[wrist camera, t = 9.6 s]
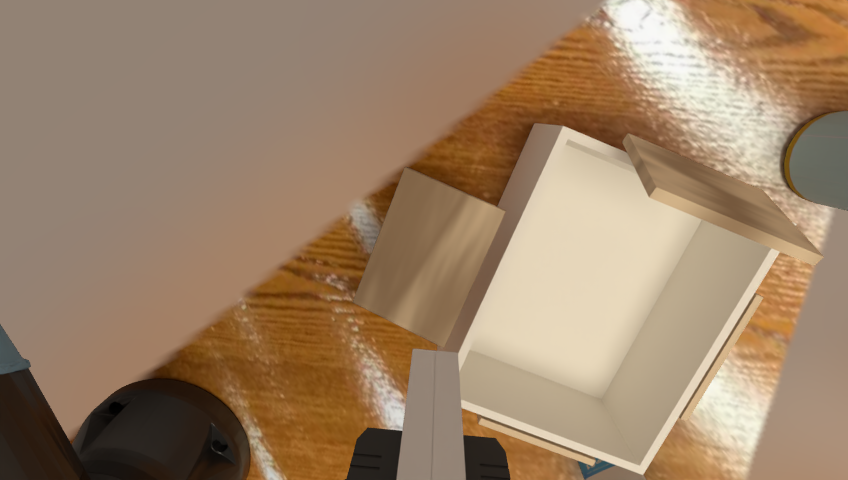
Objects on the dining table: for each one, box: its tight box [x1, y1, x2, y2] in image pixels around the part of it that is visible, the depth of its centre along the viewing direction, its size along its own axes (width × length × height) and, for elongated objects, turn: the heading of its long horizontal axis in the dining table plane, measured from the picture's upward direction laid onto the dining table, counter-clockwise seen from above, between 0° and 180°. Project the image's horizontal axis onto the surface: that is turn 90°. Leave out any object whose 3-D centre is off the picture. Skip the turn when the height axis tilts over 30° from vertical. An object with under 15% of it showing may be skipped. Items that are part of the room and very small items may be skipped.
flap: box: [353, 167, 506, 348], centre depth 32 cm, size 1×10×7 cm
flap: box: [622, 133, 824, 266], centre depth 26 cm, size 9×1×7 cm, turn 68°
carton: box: [437, 123, 797, 475], centre depth 37 cm, size 17×21×9 cm
